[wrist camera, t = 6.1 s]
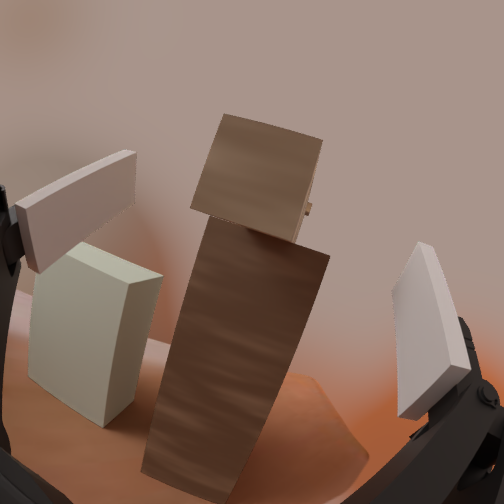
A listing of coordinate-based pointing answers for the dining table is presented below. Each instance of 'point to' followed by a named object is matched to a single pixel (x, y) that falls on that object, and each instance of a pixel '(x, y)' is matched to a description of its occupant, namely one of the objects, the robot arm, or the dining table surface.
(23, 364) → the dining table surface
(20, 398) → the dining table surface
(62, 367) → the cream upright block
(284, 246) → the wooden block
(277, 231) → the brown square block
